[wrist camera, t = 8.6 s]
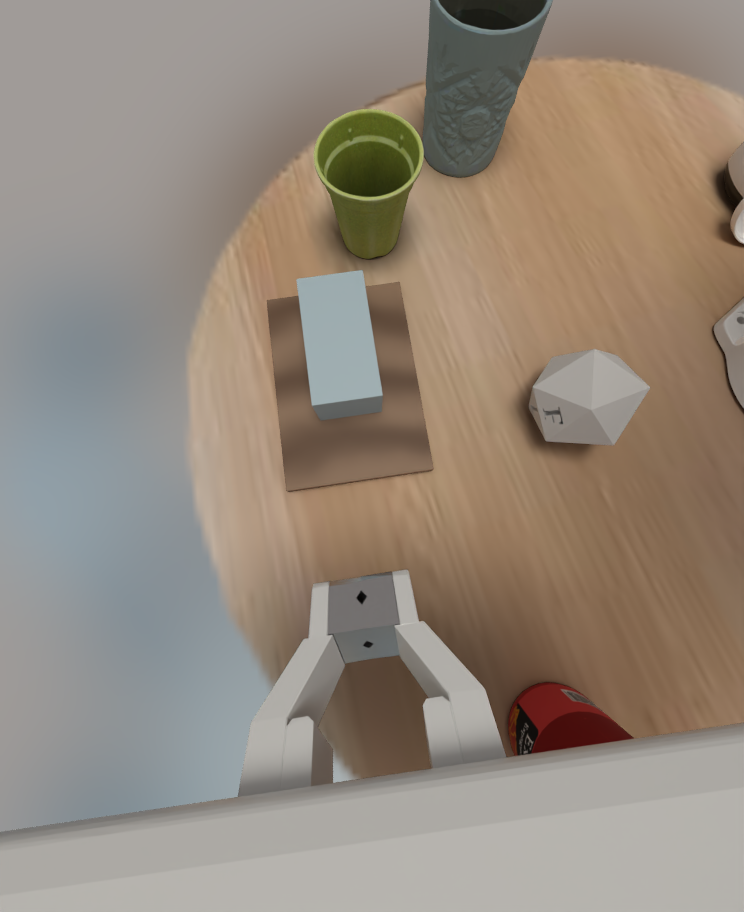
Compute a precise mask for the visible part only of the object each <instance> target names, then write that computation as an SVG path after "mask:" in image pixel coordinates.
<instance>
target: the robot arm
mask: <svg viewBox="0 0 744 912" xmlns="http://www.w3.org/2000/svg"><path fill="white" fill-rule="evenodd" d="M714 333H715V336H716V338H717V340H718V342H719V344H720V346H721V347H722V349H723V351H724V353H725V356H726V360H727V369H728V375H729V380H730V383H731V386H732V389H733V391H734V393H735V395H736V397H737V399H738V401H739V402H740V404H741V405H742V407H743V408H744V298H743V299H742V300H741V301H740V302H739V303H737V304H736V305H735V306H734V307H733V308H732V309H731V310H730V311H729V312H728V313H726V314H725V315H724V316H723V317H722V318H721V319H720V320H719V321H718V322H717V323H716V324H715V326H714ZM393 583H394V584H393ZM398 655H400V658H401V659H402V660H403V662H404V663H405V665H406V666H407V667H408V669H409V670H410V672H411V673H412V675H413V676H414V677H415V679H416V680H417V682H418V683H419V685H420V686H421V687H422V689H423V690H424V692H425V693H426V694H427V696H428V697H429V698H428V699H426V700H425V702H424V704H423V713H424V723H425V733H426V740H427V746H428V753H429V759H430V765H431V769H425V770H418V771H411V772H404V773H397V774H391V775H384V776H377V777H370V778H363V779H357V780H350V781H343V782H336V783H333V749H332V748H331V746H330V745H329V743H328V742H327V740H326V739H325V737H324V736H323V735H322V733H321V732H320V730H319V729H318V725H319V723H320V721H321V719H322V716H323V714H324V712H325V710H326V707H327V705H328V703H329V701H330V698H331V696H332V694H333V692H334V689H335V687H336V685H337V683H338V680H339V678H340V676H341V674H342V671H343V669H344V667H345V663H350V662H356V661H362V660H367V659H373V658H381V657H390V656H398ZM0 912H744V723H737V724H731V725H724V726H717V727H710V728H703V729H697V730H690V731H683V732H676V733H669V734H663V735H656V736H649V737H642V738H635V739H629V740H622V741H615V742H608V743H601V744H595V745H588V746H581V747H574V748H567V749H561V750H554V751H547V752H540V753H533V754H527V755H520V756H513V757H506V754H505V751H504V748H503V745H502V741H501V738H500V735H499V732H498V729H497V725H496V722H495V719H494V716H493V713H492V710H491V706H490V703H489V700H488V697H487V694H486V690H485V688H484V687H483V686H482V685H481V684H480V683H479V682H478V680H477V679H476V678H475V677H474V676H473V675H472V674H471V673H470V672H469V670H468V669H467V668H466V667H465V666H464V665H463V664H462V663H461V662H460V661H459V659H458V658H457V657H456V656H455V655H454V654H453V653H452V652H451V651H450V649H449V648H448V647H447V646H446V645H445V644H444V643H443V642H442V641H441V639H440V638H439V637H438V636H437V635H436V634H435V633H434V632H433V631H432V629H431V628H430V627H429V626H428V625H427V624H426V623H425V622H424V621H419V619H418V614H417V609H416V605H415V600H414V595H413V590H412V585H411V580H410V575H409V571H408V569H406V570H400V571H394V572H385V573H379V574H373V575H367V576H361V577H357V578H350V579H343V580H336V581H327V582H321V583H315V584H314V585H313V588H312V596H311V610H310V624H309V637H308V638H306V639H303V641H302V642H301V644H300V646H299V647H298V649H297V650H296V652H295V653H294V655H293V657H292V658H291V660H290V661H289V663H288V665H287V666H286V668H285V669H284V671H283V673H282V674H281V676H280V677H279V679H278V681H277V682H276V684H275V685H274V687H273V688H272V690H271V692H270V693H269V695H268V696H267V698H266V700H265V701H264V703H263V704H262V706H261V708H260V709H259V711H258V713H257V714H256V715H255V717H254V719H253V720H252V722H251V725H250V731H249V736H248V742H247V748H246V753H245V759H244V764H243V770H242V776H241V781H240V788H239V793H238V797H234V798H228V799H221V800H214V801H207V802H200V803H193V804H187V805H180V806H173V807H166V808H160V809H153V810H146V811H139V812H133V813H126V814H119V815H112V816H105V817H98V818H91V819H85V820H78V821H71V822H64V823H57V824H50V825H44V826H37V827H30V828H23V829H16V830H10V831H4V832H0Z"/></svg>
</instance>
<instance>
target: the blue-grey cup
mask: <svg viewBox="0 0 744 912" xmlns="http://www.w3.org/2000/svg"><path fill="white" fill-rule="evenodd" d="M430 1H431V2H430V19H429V43H428V58H427V72H426V90H427V91H426V97H425V111H424V129H423V150H424V156H425V158H426V160H427V161H428V162H429V165H430V166H432V167H434V169H436V170H437V171H439V172H441V173H443V174H446V175H450V176H452V177H453V176H455V177H467V176H471V175H474V174H477V173H479V172H481V171H482V170H484V169H485V168H486V167H487V166H488V165H489V163H490V162H491V160H492V159H493V157H494V155H495V152H496V150H497V147H498V145H499V142H500V139H501V137H502V134H503V131H504V127H505V123H506V120H507V117H508V115H509V112H510V109H511V108H512V106H513V104H514V102H515V98H516V94H517V90H518V87H519V85H520V83H521V81H522V79H523V78H524V75H525V73H526V70H527V68H528V65H529V62H530V60H531V57H532V55H533V52H534V49H535V47H536V44H537V41H538V39H539V35H540V33H541V31H542V28H543V25H544V23H545V20H546V18H547V15H548V13H549V10H550V7H551V5H552V1H553V0H430Z"/></svg>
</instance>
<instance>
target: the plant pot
mask: <svg viewBox="0 0 744 912" xmlns="http://www.w3.org/2000/svg"><path fill="white" fill-rule="evenodd" d="M423 159H424V150H423V144H422V141H421V138H420V136H419V134H418V133H417V131H416V130H415V129H414V127H413V126H412V125H411V124H410V123H408V122H407V121H406V120H405V119H403V118H402V117H400V116H398V115H396V114H393V113H391V112H387V111H383V110H376V109H362V110H356V111H352V112H349V113H346V114H344V115H342V116H341V117H338V118H337V119H335V120H333V121H332V122H331V123H329V124H328V125H327V126H326V127H325V129H324V130H323V132H322V133H321V134H320V135H319V137H318V139H317V142H316V145H315V148H314V164H315V168H316V171H317V174H318V176H319V178H320V180H321V181H322V183H323V184H324V185H325V187H326V189H327V191H328V192H329V194H330V196H331V200H332V203H333V206H334V209H335V213H336V216H337V220H338V223H339V226H340V230H341V233H342V237H343V240H344V243H345V245H346V247H347V248H348V249H349V250H350V252H352V253H353V254H354V255H356V256H358V257H361V258H365V259H371V258H373V257H377V256H384V255H386V254H387V253H389V252H390V251H391V250H392V249H393V247H394V246H395V244H396V242H397V239H398V235H399V231H400V227H401V223H402V218H403V214H404V210H405V206H406V203H407V199H408V195H409V192H410V190H411V189H412V186H413V184H414V182H415V181H416V179H417V178H418V176H419V174H420V171H421V168H422V164H423Z"/></svg>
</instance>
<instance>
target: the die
mask: <svg viewBox="0 0 744 912" xmlns="http://www.w3.org/2000/svg"><path fill="white" fill-rule="evenodd" d="M649 389H650V387H649V386H648V385H647V384H646V383H645V382H644V381H643V380H642V379H641V378H640V377H639V376H638V375H637V374H636V373H635V372H634V371H633V370H632V369H631V368H630V367H629V366H628V365H627V364H626V363H625V362H624V361H623V360H622V359H620V358H619V357H618V356H617V355H614V354H610V353H607V352H603V351H600V350H596V349H592V350H587V351H581V352H576V353H571V354H566V355H561V356H555V357H552V358H551V360H550V361H549V363H548V364H547V366H546V367H545V369H544V370H543V372H542V373H541V375H540V376H539V378H538V380H537V381H536V383H535V384H534V386H533V388H532V392H531V397H530V402H529V407H528V408H529V410H530V412H531V413H532V415H533V417H534V419H535V421H536V423H537V425H538V427H539V429H540V431H541V433H542V435H543V437H544V439H545V440H546V441H549V442H565V443H581V444H598V445H614V444H615V443H616V441H617V440H618V438H619V436H620V435H621V433H622V432H623V430H624V429H625V427H626V425H627V424H628V422H629V421H630V419H631V417H632V416H633V414H634V413H635V411H636V410H637V408H638V406H639V405H640V403H641V402H642V400H643V398H644V397H645V395H646V394H647V392H648V390H649Z"/></svg>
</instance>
